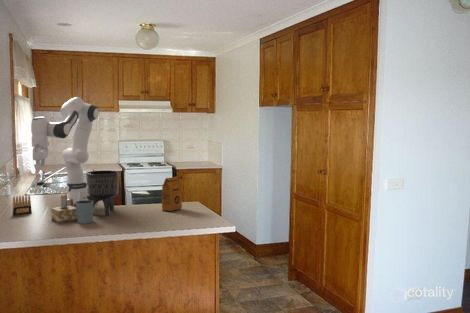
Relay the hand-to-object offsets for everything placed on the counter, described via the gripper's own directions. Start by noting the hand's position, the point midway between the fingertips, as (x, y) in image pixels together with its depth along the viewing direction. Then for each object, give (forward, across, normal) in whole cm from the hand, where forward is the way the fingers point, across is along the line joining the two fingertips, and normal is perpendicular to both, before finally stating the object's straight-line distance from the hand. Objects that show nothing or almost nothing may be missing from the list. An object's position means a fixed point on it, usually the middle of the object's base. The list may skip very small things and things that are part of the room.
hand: (40, 166), depth 259 cm
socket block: (+31, -10, -15) cm, 36 cm away
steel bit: (+30, -10, -15) cm, 35 cm away
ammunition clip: (+31, +10, +14) cm, 36 cm away
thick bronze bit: (+31, +3, -15) cm, 35 cm away
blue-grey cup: (+31, -17, -28) cm, 45 cm away
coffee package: (+31, +7, -79) cm, 85 cm away
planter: (+31, +4, -36) cm, 48 cm away
